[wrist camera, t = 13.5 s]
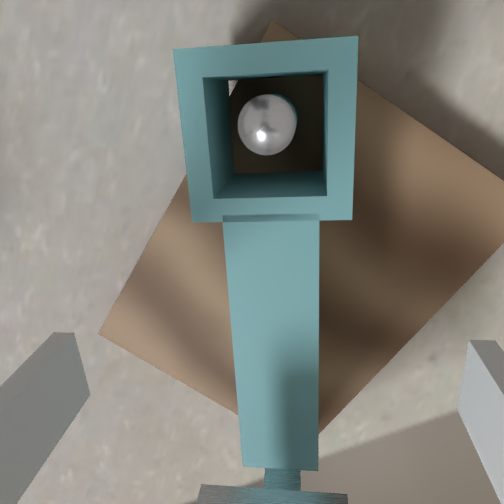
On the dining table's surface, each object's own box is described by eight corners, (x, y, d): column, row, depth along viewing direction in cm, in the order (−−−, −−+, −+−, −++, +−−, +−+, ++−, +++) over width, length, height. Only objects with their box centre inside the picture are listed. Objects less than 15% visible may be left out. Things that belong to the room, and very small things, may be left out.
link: (206, 59, 20) (172, 49, 15) (344, 49, 19) (358, 35, 14) (235, 395, 27) (218, 464, 22) (336, 399, 27) (343, 472, 21)
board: (274, 24, 21) (272, 19, 19) (524, 198, 22) (539, 205, 21) (108, 321, 28) (97, 333, 27) (301, 434, 30) (301, 451, 28)
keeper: (240, 338, 28) (195, 506, 16) (331, 340, 27) (349, 518, 16) (246, 420, 30) (211, 614, 19) (330, 424, 29) (345, 629, 18)
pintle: (271, 84, 22) (257, 82, 15) (306, 108, 22) (307, 116, 15) (249, 122, 22) (227, 135, 16) (283, 144, 23) (275, 166, 16)
